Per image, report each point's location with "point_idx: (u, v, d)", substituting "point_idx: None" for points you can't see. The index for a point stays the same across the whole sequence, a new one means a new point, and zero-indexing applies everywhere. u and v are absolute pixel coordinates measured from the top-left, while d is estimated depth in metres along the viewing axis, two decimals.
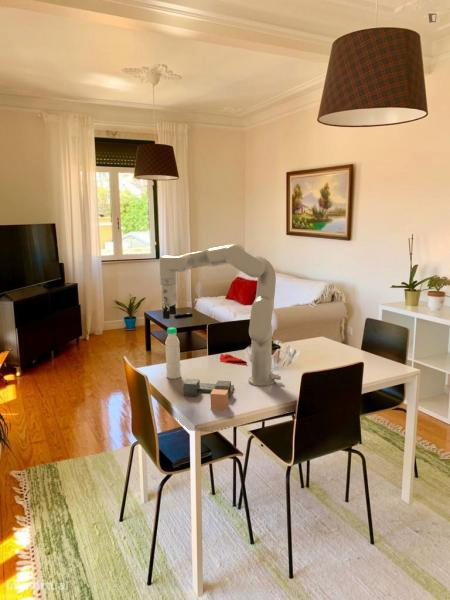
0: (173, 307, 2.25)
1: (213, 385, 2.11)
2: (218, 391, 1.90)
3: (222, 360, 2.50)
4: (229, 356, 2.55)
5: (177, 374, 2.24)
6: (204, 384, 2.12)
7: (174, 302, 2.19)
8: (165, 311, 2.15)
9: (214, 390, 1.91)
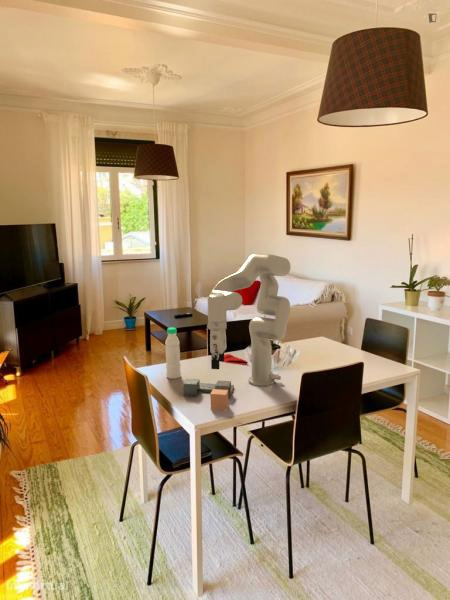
0: (221, 353, 1.91)
1: (213, 385, 2.11)
2: (218, 391, 1.90)
3: None
4: (230, 356, 2.56)
5: (177, 374, 2.24)
6: (204, 384, 2.12)
7: (224, 349, 1.85)
8: (214, 360, 1.81)
9: (214, 390, 1.91)
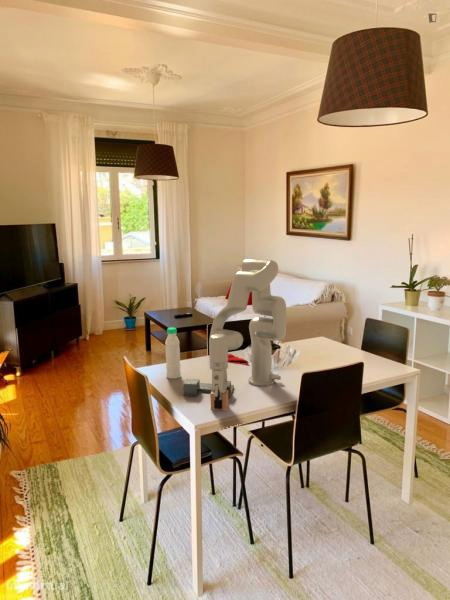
0: None
1: None
2: (218, 391, 1.90)
3: None
4: (231, 356, 2.56)
5: (177, 374, 2.24)
6: (204, 384, 2.12)
7: (225, 388, 1.88)
8: (217, 401, 1.86)
9: None
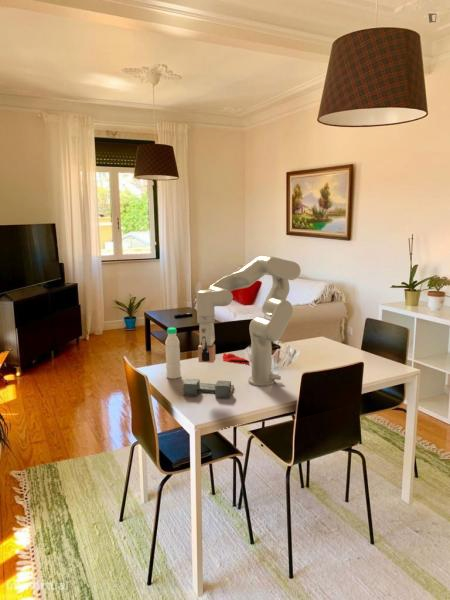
0: None
1: (213, 385, 2.11)
2: None
3: (225, 359, 2.52)
4: (232, 355, 2.57)
5: (177, 374, 2.24)
6: (204, 384, 2.12)
7: (212, 341, 1.98)
8: (204, 353, 1.96)
9: None
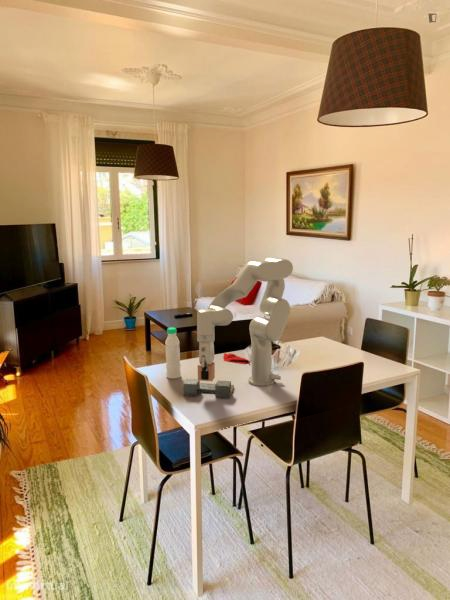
0: None
1: (213, 385, 2.11)
2: (205, 363, 2.01)
3: (225, 359, 2.52)
4: (232, 355, 2.57)
5: (177, 374, 2.24)
6: (204, 384, 2.12)
7: (212, 360, 1.99)
8: (204, 372, 1.97)
9: None
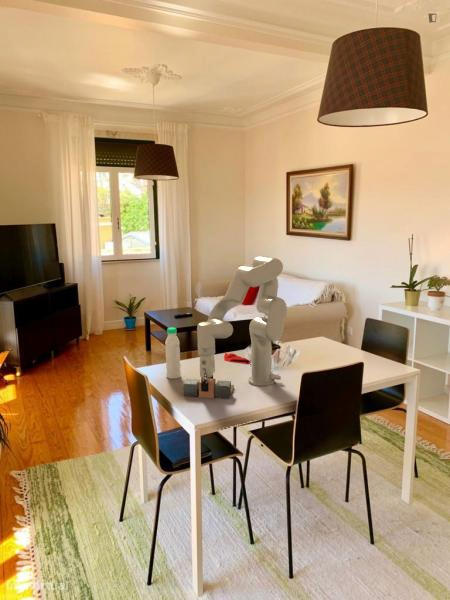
0: None
1: None
2: None
3: (226, 359, 2.52)
4: (233, 355, 2.57)
5: (177, 374, 2.24)
6: None
7: (212, 372, 2.01)
8: (204, 384, 1.97)
9: None
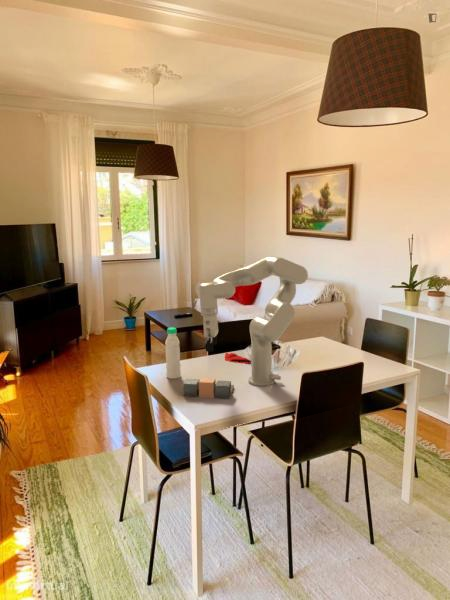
0: (214, 337, 2.07)
1: None
2: (206, 380, 2.03)
3: (227, 359, 2.52)
4: (234, 355, 2.57)
5: (177, 374, 2.24)
6: None
7: (216, 332, 2.02)
8: (208, 343, 1.97)
9: (202, 379, 2.04)
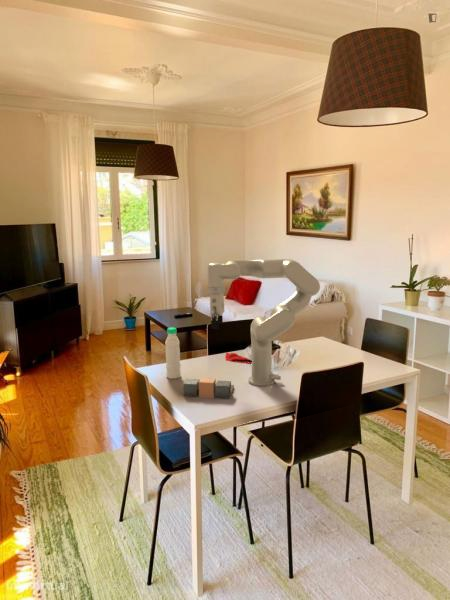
0: (220, 316, 2.15)
1: None
2: (206, 380, 2.03)
3: (227, 359, 2.53)
4: (234, 355, 2.58)
5: (177, 374, 2.24)
6: None
7: (222, 311, 2.09)
8: (214, 321, 2.05)
9: (202, 379, 2.04)
